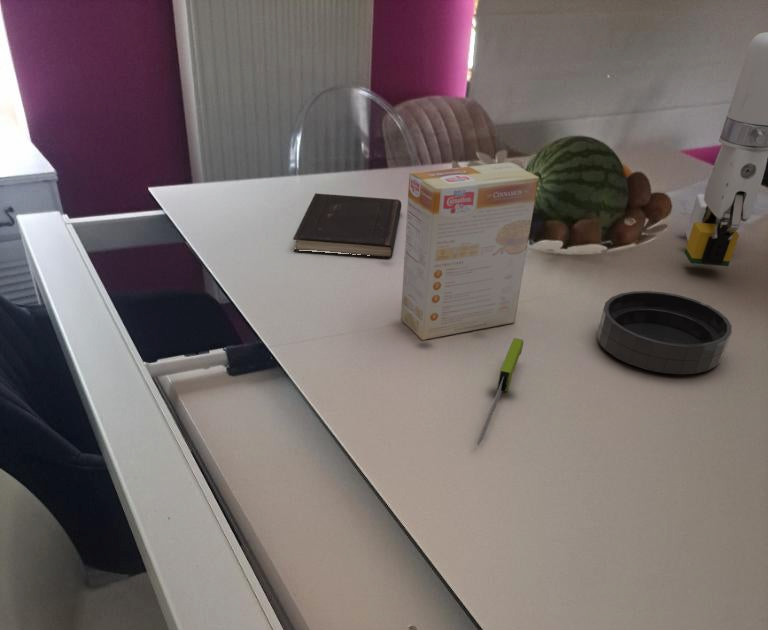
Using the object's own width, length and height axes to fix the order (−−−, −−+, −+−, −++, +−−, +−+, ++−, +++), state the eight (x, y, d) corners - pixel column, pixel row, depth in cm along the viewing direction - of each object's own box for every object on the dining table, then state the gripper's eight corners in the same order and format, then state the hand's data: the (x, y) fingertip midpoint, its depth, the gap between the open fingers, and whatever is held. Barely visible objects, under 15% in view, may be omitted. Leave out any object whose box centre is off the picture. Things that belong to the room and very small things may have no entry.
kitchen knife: (480, 464, 79) (483, 443, 77) (469, 462, 80) (471, 440, 77) (521, 357, 94) (524, 336, 92) (511, 355, 95) (514, 334, 92)
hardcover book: (293, 252, 119) (293, 237, 118) (315, 206, 137) (315, 193, 136) (392, 259, 119) (392, 245, 117) (401, 212, 137) (401, 199, 135)
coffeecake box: (489, 303, 108) (510, 160, 95) (516, 324, 103) (542, 176, 90) (398, 319, 103) (407, 170, 90) (421, 341, 98) (435, 187, 85)
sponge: (721, 255, 121) (731, 225, 118) (728, 266, 118) (739, 235, 115) (684, 252, 122) (693, 222, 118) (690, 263, 118) (700, 231, 115)
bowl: (703, 326, 105) (714, 296, 102) (734, 383, 93) (747, 351, 90) (589, 316, 106) (596, 286, 103) (604, 372, 94) (613, 340, 91)
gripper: (794, 151, 101) (745, 279, 113) (757, 122, 114) (717, 240, 126) (739, 146, 101) (695, 275, 113) (708, 118, 114) (672, 236, 126)
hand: (707, 255), depth 119 cm, fingers closed on sponge, 4 cm apart
